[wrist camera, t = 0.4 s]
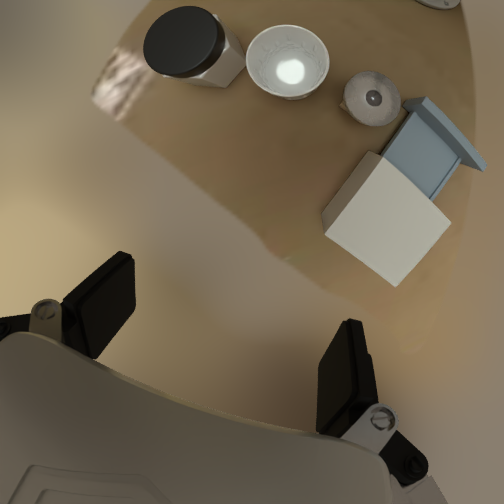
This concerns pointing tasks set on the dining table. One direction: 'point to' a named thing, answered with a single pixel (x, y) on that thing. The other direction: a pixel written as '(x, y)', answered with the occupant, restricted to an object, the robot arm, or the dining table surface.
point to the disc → (371, 98)
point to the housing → (383, 219)
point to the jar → (193, 48)
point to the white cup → (287, 61)
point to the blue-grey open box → (429, 147)
